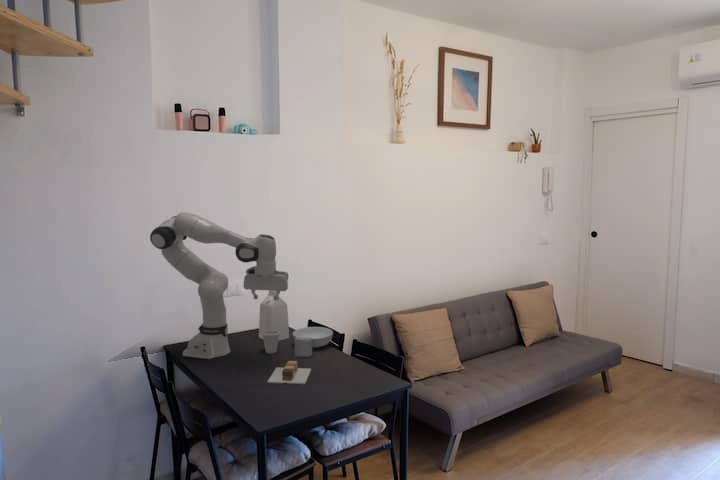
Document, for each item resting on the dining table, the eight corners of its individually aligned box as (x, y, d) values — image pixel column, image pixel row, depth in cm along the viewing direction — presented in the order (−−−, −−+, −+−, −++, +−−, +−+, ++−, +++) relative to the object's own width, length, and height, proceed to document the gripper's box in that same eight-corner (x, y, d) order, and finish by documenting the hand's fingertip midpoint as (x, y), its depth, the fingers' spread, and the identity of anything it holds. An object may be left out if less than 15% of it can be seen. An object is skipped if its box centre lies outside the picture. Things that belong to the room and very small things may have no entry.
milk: (289, 337, 267) (289, 290, 264) (272, 342, 259) (271, 294, 256) (275, 332, 275) (275, 287, 272) (258, 337, 267) (258, 290, 264)
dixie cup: (271, 355, 239) (271, 335, 238) (259, 352, 243) (258, 332, 242) (283, 350, 246) (282, 331, 245) (270, 347, 250) (270, 328, 249)
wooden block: (288, 369, 220) (288, 360, 219) (297, 369, 220) (297, 361, 219) (282, 380, 208) (282, 371, 208) (291, 380, 208) (291, 371, 207)
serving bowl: (306, 336, 269) (306, 324, 268) (340, 342, 260) (340, 329, 259) (284, 347, 251) (284, 334, 250) (319, 354, 241) (319, 341, 241)
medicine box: (312, 354, 241) (312, 337, 240) (310, 357, 237) (310, 340, 236) (296, 353, 242) (296, 336, 241) (294, 356, 238) (294, 339, 237)
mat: (267, 382, 207) (267, 381, 206) (276, 368, 222) (276, 367, 222) (304, 384, 205) (304, 382, 205) (311, 369, 221) (311, 368, 221)
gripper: (289, 269, 228) (289, 299, 229) (246, 267, 229) (246, 296, 231) (286, 272, 221) (286, 302, 223) (242, 270, 223) (242, 300, 224)
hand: (265, 299), depth 227 cm, fingers open, 8 cm apart
